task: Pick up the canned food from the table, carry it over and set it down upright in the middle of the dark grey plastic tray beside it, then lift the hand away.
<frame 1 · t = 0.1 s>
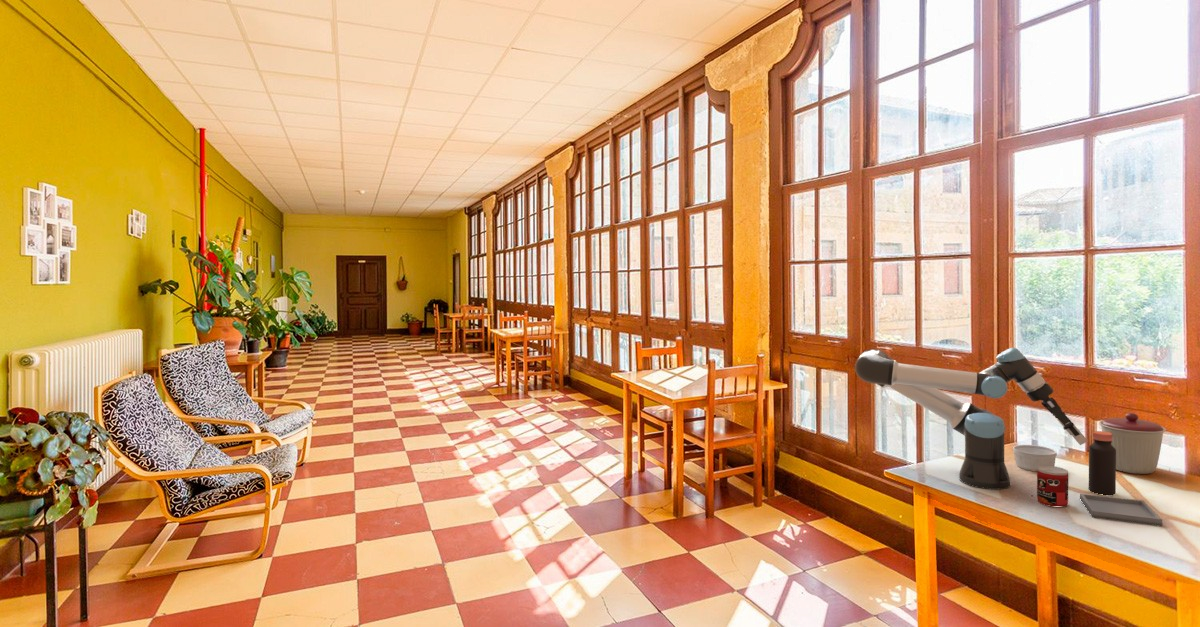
hand: (1079, 438, 204), 15 cm above the table, tool tilted 35°, fingers open, 13 cm apart
canister: (1130, 470, 214), on the table
tray: (1118, 512, 178), on the table
canned food: (1052, 503, 187), on the table
ramekin: (1034, 468, 221), on the table
bottle: (1101, 492, 194), on the table
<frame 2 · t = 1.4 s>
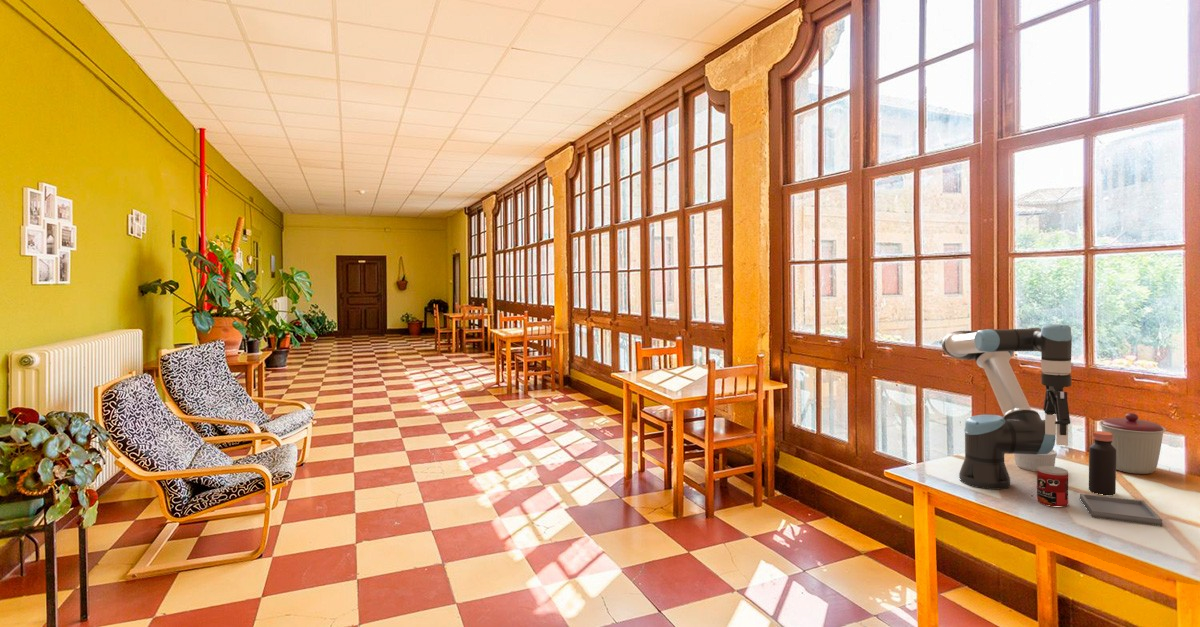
hand: (1056, 439, 186), 20 cm above the table, tool pointing down, fingers open, 13 cm apart
nothing on the table moved.
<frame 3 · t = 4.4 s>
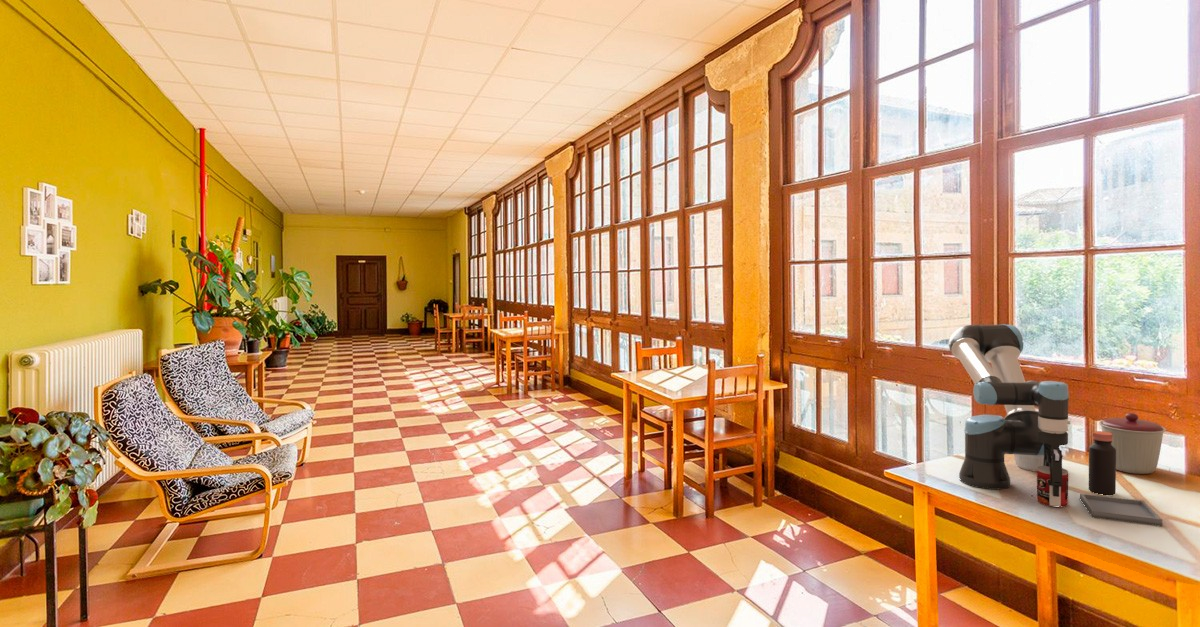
hand: (1052, 500, 187), 1 cm above the table, tool pointing down, fingers closed on canned food, 8 cm apart
canned food: (1052, 503, 187), on the table, touching gripper
everything else where it was.
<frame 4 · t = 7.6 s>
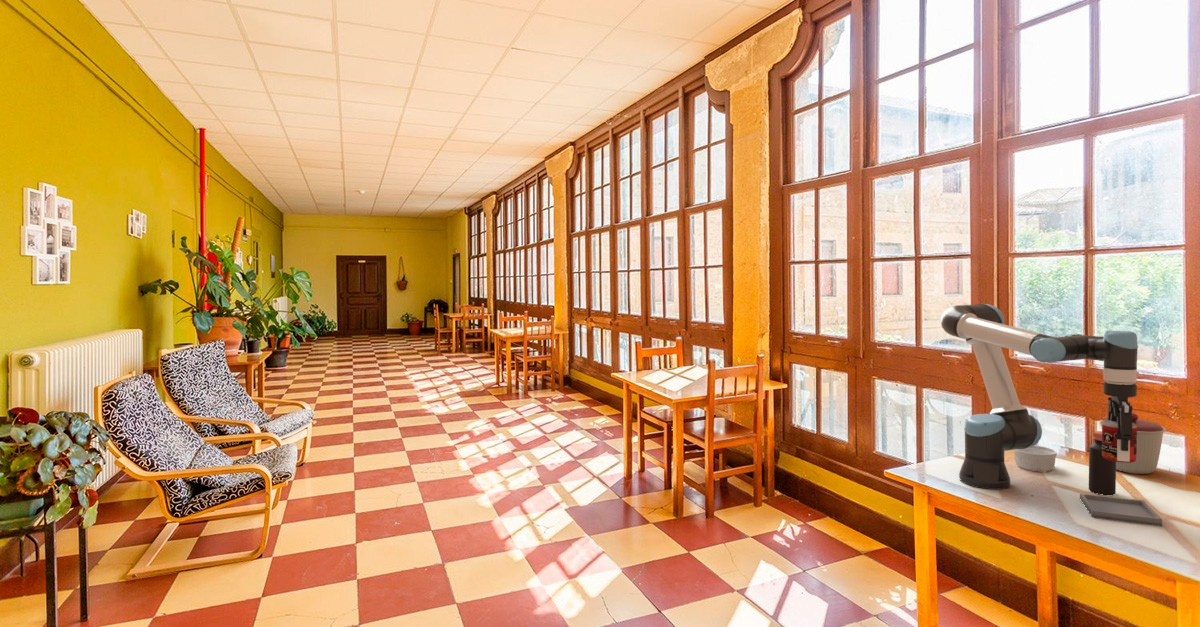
hand: (1119, 456, 177), 17 cm above the table, tool pointing down, fingers closed on canned food, 8 cm apart
canned food: (1118, 459, 177), point 16 cm above the table, touching gripper
everything else where it was.
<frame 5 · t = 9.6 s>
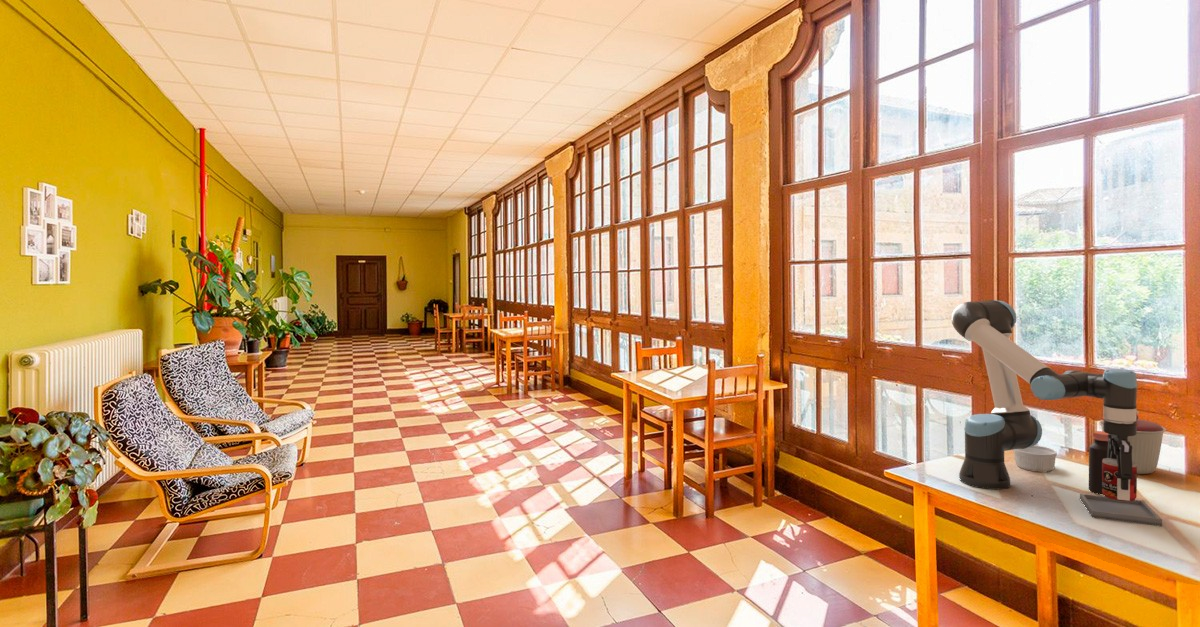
hand: (1119, 494, 178), 5 cm above the table, tool pointing down, fingers closed on canned food, 8 cm apart
canned food: (1119, 497, 178), point 5 cm above the table, touching gripper
everything else where it was.
when the fingers open (3 cm above the table, at t = 11.0 s): canned food drops 2 cm, resting on tray.
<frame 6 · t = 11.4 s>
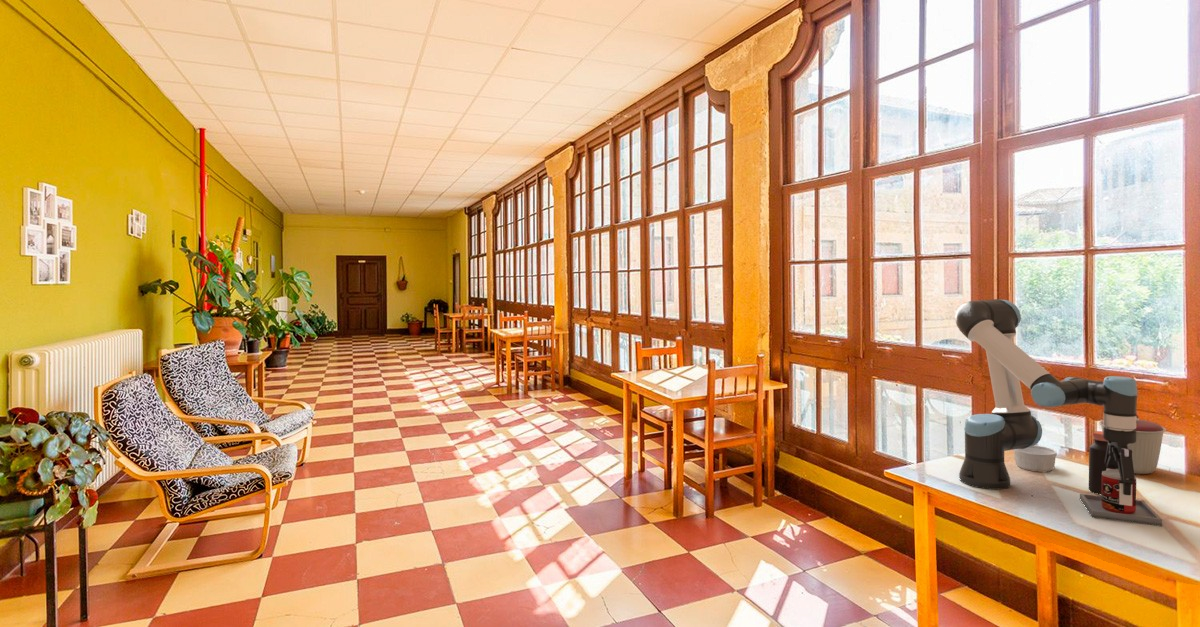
hand: (1118, 497, 178), 5 cm above the table, tool pointing down, fingers open, 13 cm apart
canned food: (1118, 510, 178), point 1 cm above the table, touching tray
everything else where it was.
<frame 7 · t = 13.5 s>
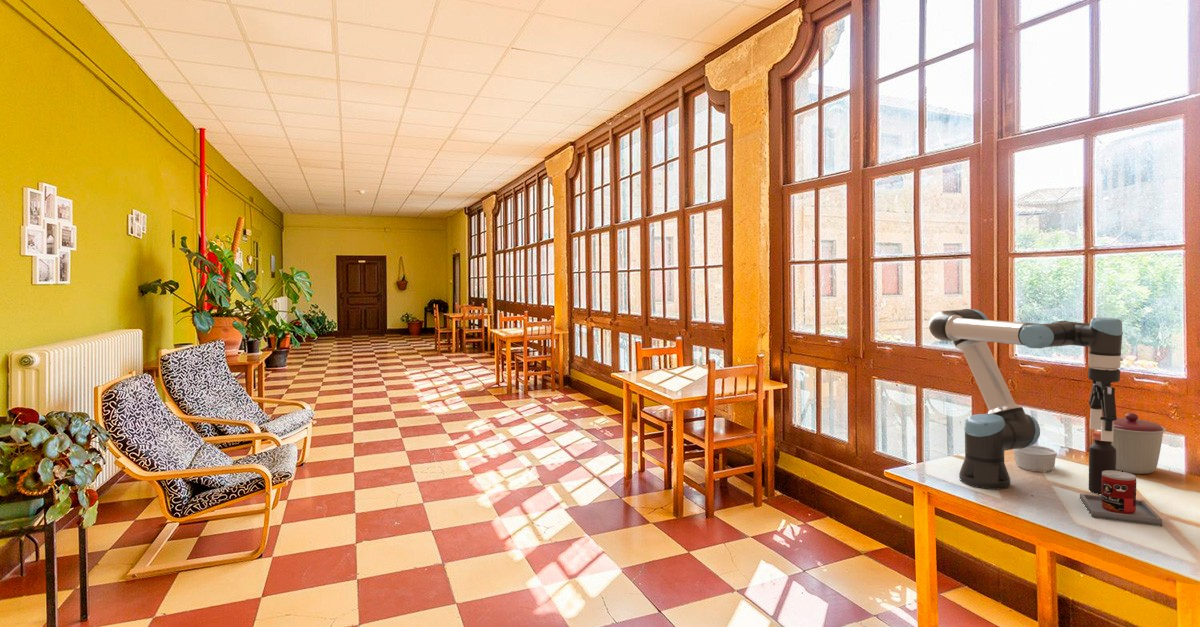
hand: (1100, 435, 183), 22 cm above the table, tool pointing down, fingers open, 13 cm apart
nothing on the table moved.
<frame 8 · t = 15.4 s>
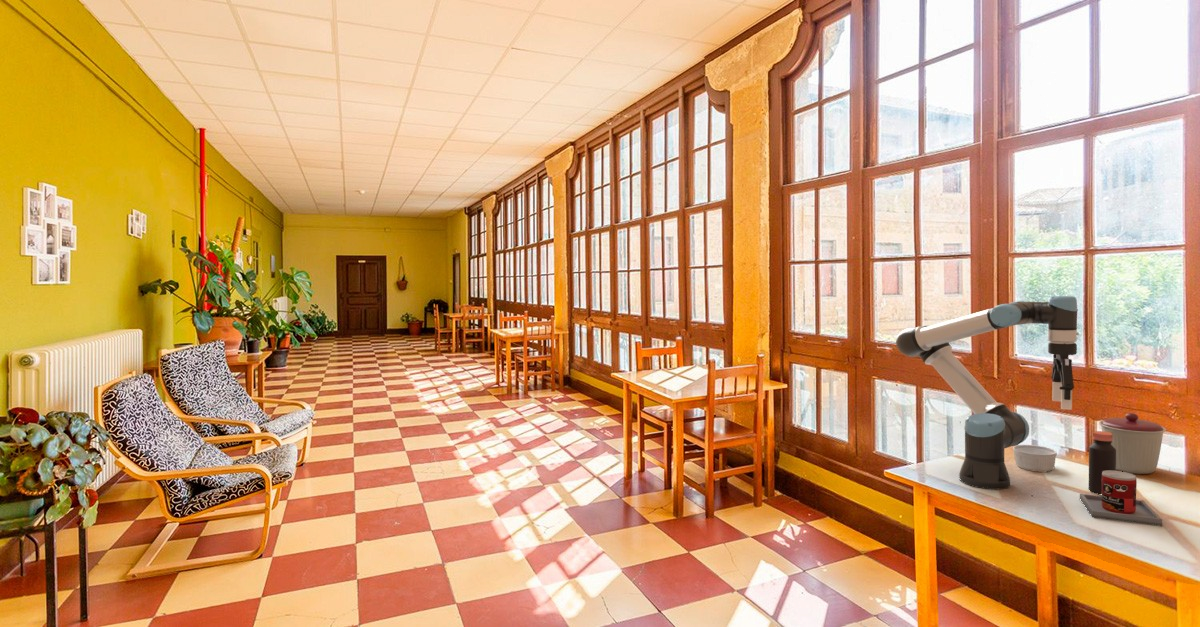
hand: (1061, 405, 197), 29 cm above the table, tool pointing down, fingers open, 13 cm apart
nothing on the table moved.
at the end: canned food inside the target area on the tray (0.2 cm from its centre), point 0.6 cm above the tray's base; canned food tilted 0°; the gripper is holding nothing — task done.
